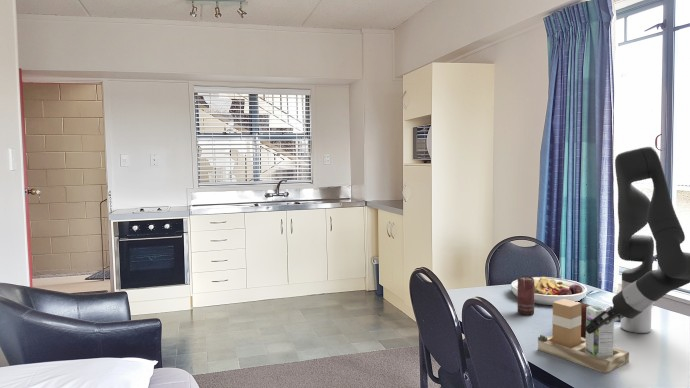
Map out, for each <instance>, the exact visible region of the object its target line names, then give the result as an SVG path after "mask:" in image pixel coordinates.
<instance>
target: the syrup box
mask: <svg viewBox="0 0 690 388" xmlns="http://www.w3.org/2000/svg"><path fill="white" fill-rule="evenodd" d="M607 308H608V307H605V306H603V305H589V307H586V326H588V325H589V324H590V323H591V322H590V321H591V320H593V319H594V318H595V317H597V316H598V315H599V314H601V313H602V312H603V311H606V309H607ZM597 322H598V320H597ZM607 322H609V321H607ZM598 323H599V322H598ZM599 324H600V323H599ZM614 324H615V322H614V321H613V322H612V323H610V324H608V325H603V326H601V328H598V329H597V330H595V331H594V332H592V333H591V334H588V332H587V331H586V337H585V339H586V351H585V352H586V353H587V354H590V355H593V356H596V357H599V358H602V359H607V358H609V357H611V356H613V347H614V331H615V329H614V328H615V327H614Z"/></svg>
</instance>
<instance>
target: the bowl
mask: <svg viewBox="0 0 690 388" xmlns="http://www.w3.org/2000/svg"><path fill="white" fill-rule="evenodd" d="M532 278H533V279H534V304H537V305H544V306H553V302H555V301H558V300H562V299H567V300H571V301H575V300H578V299H581V298H584V297H585V298H586V295H587V293H588V289H587V287H586V286H585V285H584V284H582V283H580V282H577V281H574V280H570V279H566V278H559V277H558V278H556V277H549V276H533V277H532ZM510 286H511V287H510V288H511V290H512V291H511V292H512V293H513V294H514V295H515V297H517V298H518V279H516V280H513V281H512V282H511V283H510ZM585 298H584V299H585Z"/></svg>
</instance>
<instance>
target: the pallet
mask: <svg viewBox="0 0 690 388" xmlns="http://www.w3.org/2000/svg"><path fill="white" fill-rule="evenodd" d="M537 344H538V345H537V350H538V351H541V352H544V353H545V354H549V355H552V356H555V357H557V358H560V359H563V360H566V361H569V362H572V363H575V364H578V365H580V366H583V367H587V368H588V369H589V368H590V369H592V370H595V371H598V372H600V373H603V374H607V373H609V372H611V371H613V370H616V369H617V368H619V367H621V366H623V365H625V364H628V363H629V361H630V351H627V350H623V349H621V348H617V347H615V346H613V356H611V357H609V358H607V359H602V358H599V357H596V356H593V355H590V354H587V353H586V352H585V351H586V337H581V345H578V346H576V347H573V348H568V347H565V346H562V345H559V344H556V343H553V342H552V335H549V336H547V337H546V335H545V334H540V336H538V337H537Z"/></svg>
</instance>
